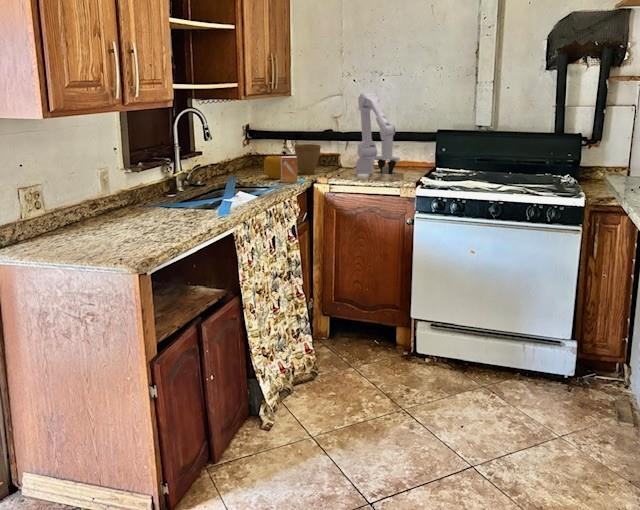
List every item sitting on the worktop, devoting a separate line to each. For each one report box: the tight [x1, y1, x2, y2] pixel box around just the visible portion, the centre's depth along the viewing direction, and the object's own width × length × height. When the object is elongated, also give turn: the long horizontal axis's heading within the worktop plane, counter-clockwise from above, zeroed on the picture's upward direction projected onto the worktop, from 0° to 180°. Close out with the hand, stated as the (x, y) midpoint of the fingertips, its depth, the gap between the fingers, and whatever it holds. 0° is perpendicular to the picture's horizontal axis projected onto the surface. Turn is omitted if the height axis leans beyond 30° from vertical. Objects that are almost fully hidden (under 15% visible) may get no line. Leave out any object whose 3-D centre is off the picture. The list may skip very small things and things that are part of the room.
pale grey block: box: [356, 173, 370, 181], centre depth 336 cm, size 6×6×3 cm
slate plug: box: [382, 164, 389, 174], centre depth 335 cm, size 4×4×7 cm
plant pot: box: [294, 143, 322, 175], centre depth 357 cm, size 15×15×16 cm
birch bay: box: [368, 170, 405, 183], centre depth 335 cm, size 14×12×4 cm
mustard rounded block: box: [263, 154, 282, 180], centre depth 338 cm, size 11×11×13 cm
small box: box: [280, 155, 298, 184], centre depth 328 cm, size 8×6×13 cm
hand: (386, 174), depth 335 cm, fingers closed on slate plug, 4 cm apart
